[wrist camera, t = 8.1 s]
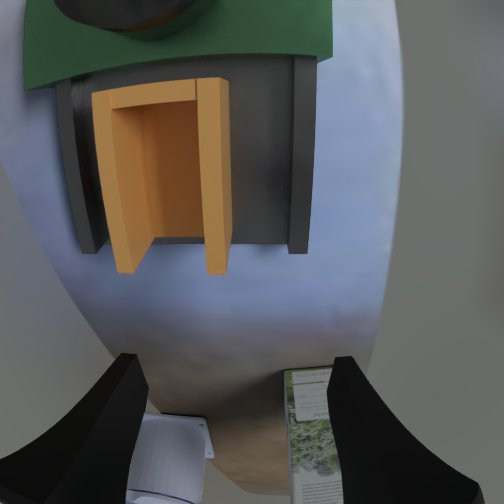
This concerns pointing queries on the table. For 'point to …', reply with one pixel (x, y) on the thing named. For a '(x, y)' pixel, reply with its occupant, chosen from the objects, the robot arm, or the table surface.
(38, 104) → the table surface
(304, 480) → the syrup box
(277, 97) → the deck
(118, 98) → the tan arch block
